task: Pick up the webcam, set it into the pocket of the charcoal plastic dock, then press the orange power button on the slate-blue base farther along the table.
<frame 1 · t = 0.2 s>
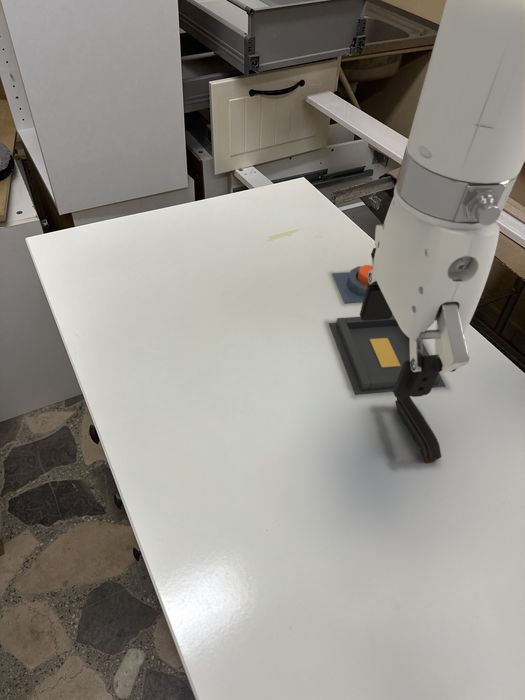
hand: (391, 353, 49), 24 cm above the table, tool pointing down, fingers open, 9 cm apart
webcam: (404, 439, 71), on the table
button base: (364, 290, 92), on the table
power button: (368, 275, 90), point 3 cm above the table, slide at 0.1 cm
dock: (383, 357, 81), on the table
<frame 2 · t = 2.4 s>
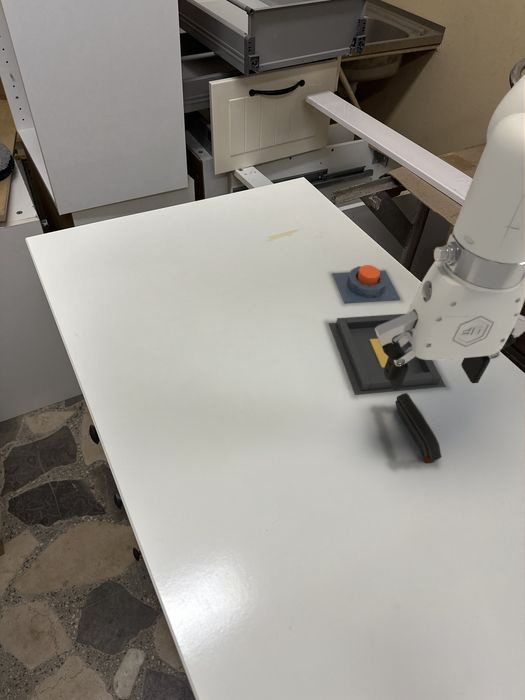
hand: (430, 377, 61), 13 cm above the table, tool pointing down, fingers open, 9 cm apart
nothing on the table moved.
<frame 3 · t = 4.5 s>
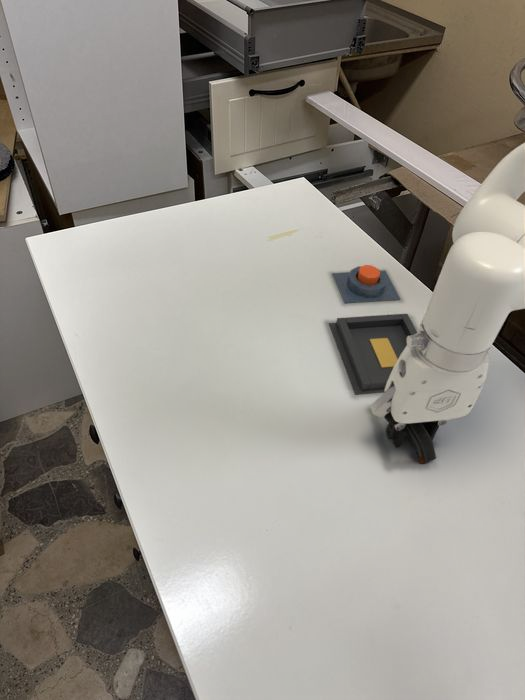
hand: (408, 436, 70), 1 cm above the table, tool pointing down, fingers closed on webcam, 3 cm apart
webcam: (399, 440, 71), on the table, touching gripper
everything else where it was.
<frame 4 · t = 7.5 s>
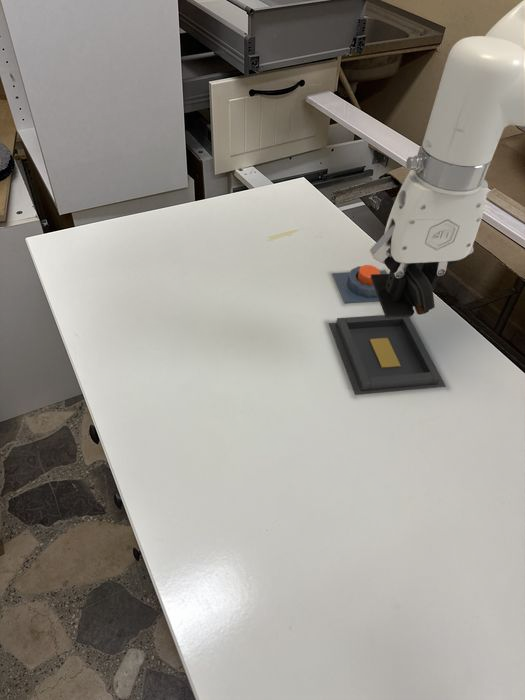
hand: (407, 293, 71), 14 cm above the table, tool pointing down, fingers closed on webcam, 3 cm apart
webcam: (399, 298, 72), point 13 cm above the table, touching gripper
everything else where it was.
when the fingers open (2 cm above the table, at t = 10.4 s): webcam stays where it is, resting on dock.
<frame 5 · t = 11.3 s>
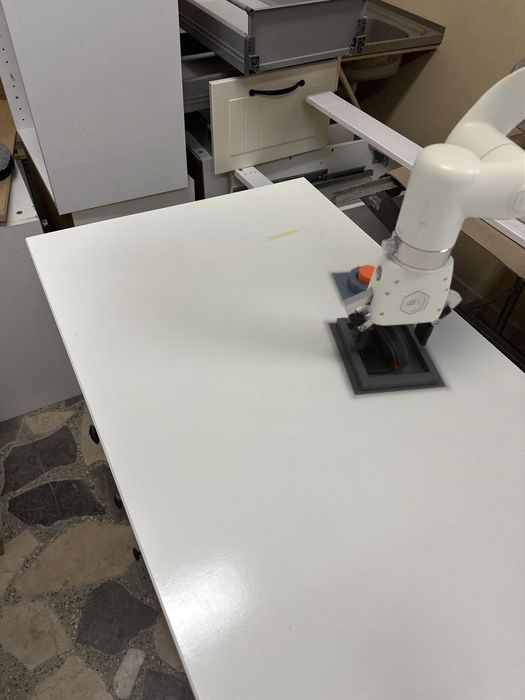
hand: (389, 341, 79), 3 cm above the table, tool pointing down, fingers open, 9 cm apart
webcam: (378, 353, 80), point 1 cm above the table, touching dock
everything else where it was.
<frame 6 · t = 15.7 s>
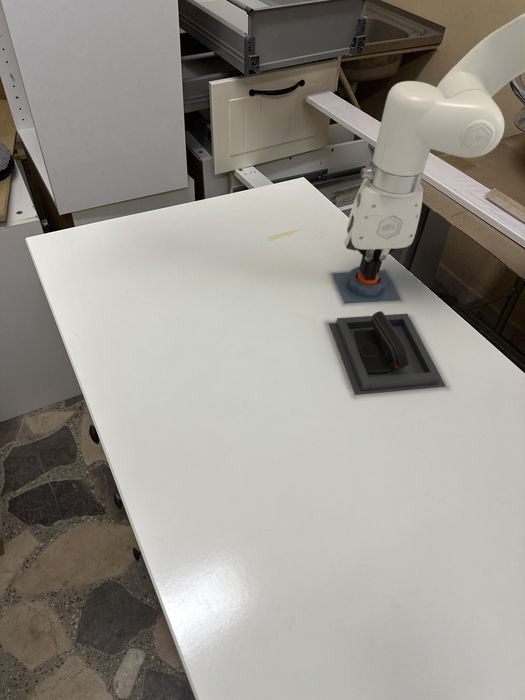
hand: (367, 275, 90), 4 cm above the table, tool pointing down, fingers closed
power button: (367, 279, 91), point 3 cm above the table, slide at -0.8 cm, touching gripper
everything else where it was.
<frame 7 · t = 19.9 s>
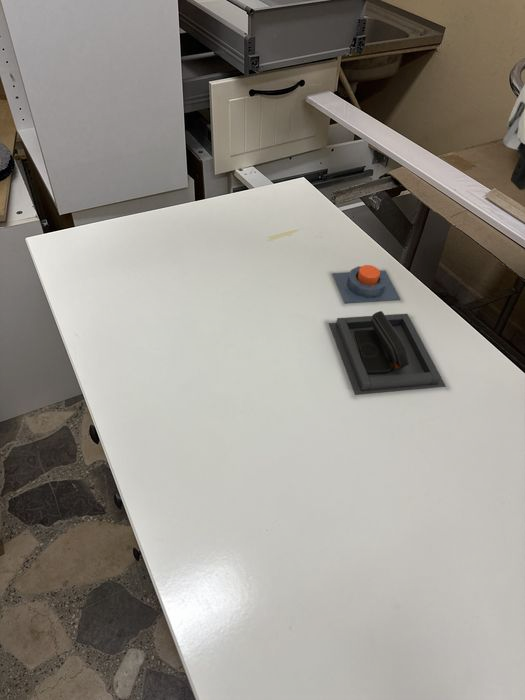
hand: (520, 185, 77), 22 cm above the table, tool pointing down, fingers closed
power button: (368, 275, 90), point 3 cm above the table, slide at 0.1 cm
everything else where it was.
at the end: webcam 0.9 cm off-centre on the dock, point 1.0 cm above the dock's base; power button pushed in 1.1 cm at the most during the clip, back to where it started at the end; power button slide at 0.1 cm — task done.
